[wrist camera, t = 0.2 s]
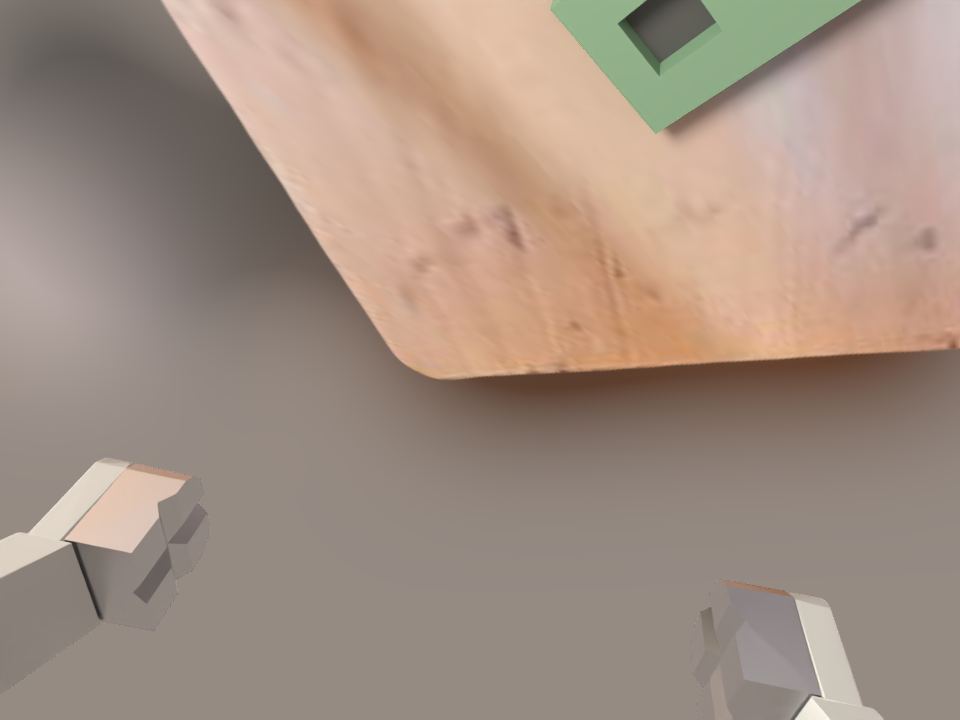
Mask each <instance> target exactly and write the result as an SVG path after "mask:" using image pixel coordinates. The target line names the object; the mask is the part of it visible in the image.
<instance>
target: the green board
mask: <svg viewBox="0 0 960 720" xmlns="http://www.w3.org/2000/svg"><path fill="white" fill-rule="evenodd" d="M860 1H861V0H553V2H552V6H551V11H552V12H553V13H554V14H555V15H556V17H557V18H558V19H559V20H560V21H561V23H562V24H563V25H564V26H565V27H566V28H567V30H568V31H569V32H570V33H571V34H572V36H573V37H574V38H575V39H576V40H577V41H578V43H579V44H580V45H581V46H582V47H583V49H584V50H585V51H586V52H587V53H588V54H589V56H590V57H591V58H592V59H593V60H594V62H595V63H596V64H597V65H598V66H599V67H600V69H601V70H602V71H603V72H604V73H605V75H606V76H607V77H608V78H609V79H610V80H611V82H612V83H613V84H614V85H615V86H616V88H617V89H618V90H619V91H620V92H621V94H622V95H623V96H624V97H625V98H626V99H627V101H628V102H629V103H630V104H631V105H632V107H633V108H634V109H635V110H636V111H637V112H638V114H639V115H640V116H641V117H642V118H643V120H644V121H645V122H646V123H647V124H648V125H649V127H650V128H651V129H652V130H653V131H654V133H655V134H657V133H658V132H660V131H661V130H663V129H664V128H666V127H667V126H669V125H670V124H672V123H673V122H675V121H677V120H678V119H680V118H681V117H683V116H684V115H686V114H687V113H689V112H690V111H692V110H693V109H695V108H697V107H698V106H700V105H701V104H703V103H704V102H706V101H707V100H709V99H710V98H712V97H713V96H715V95H717V94H718V93H720V92H721V91H723V90H724V89H726V88H727V87H729V86H730V85H732V84H733V83H735V82H737V81H738V80H740V79H741V78H743V77H744V76H746V75H747V74H749V73H750V72H752V71H753V70H755V69H756V68H758V67H760V66H761V65H763V64H764V63H766V62H767V61H769V60H770V59H772V58H773V57H775V56H776V55H778V54H780V53H781V52H783V51H784V50H786V49H787V48H789V47H790V46H792V45H793V44H795V43H796V42H798V41H800V40H801V39H803V38H804V37H806V36H807V35H809V34H810V33H812V32H813V31H815V30H816V29H818V28H820V27H821V26H823V25H824V24H826V23H827V22H829V21H830V20H832V19H833V18H835V17H836V16H838V15H840V14H841V13H843V12H844V11H846V10H847V9H849V8H850V7H852V6H853V5H855V4H856V3H858V2H860Z"/></svg>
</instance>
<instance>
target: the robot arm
mask: <svg viewBox="0 0 960 720" xmlns="http://www.w3.org/2000/svg"><path fill="white" fill-rule="evenodd" d="M203 494H204V491H203V487H202V482H201V479H200V478H197V477H194V476H190V475H186V474H181V473H177V472H172V471H168V470H163V469H159V468H155V467H150V466H146V465H141V464H137V463H131V462H126V461H122V460H117V459H112V458H108V457H106V458H104V459H102V460H100V461H97V462H96V463H94V464H93V465H92V467H91V468H90V469H89V470H88V471H87V472H86V473H85V474H84V475H83V476H82V477H81V478H80V479H79V480H78V481H77V482H76V483H75V484H74V486H73V487H72V488H71V489H70V490H69V491H68V492H67V493H66V494H65V495H64V496H63V497H62V498H61V499H60V500H59V501H58V502H57V504H56V505H55V506H54V507H53V508H52V509H51V510H50V511H49V512H48V513H47V514H46V515H45V516H44V517H43V518H42V519H41V520H40V522H39V523H38V524H37V525H36V526H35V527H34V528H33V529H32V530H31V531H30V532H29V533H21V532H18V533H15V534H14V535H11V536H9V537H7V538H4V539H2V540H0V695H1V694H2V693H3V692H5V691H6V690H8V689H9V688H11V687H12V686H14V685H15V684H16V683H18V682H19V681H21V680H22V679H24V678H25V677H26V676H28V675H29V674H31V673H32V672H34V671H35V670H36V669H38V668H39V667H41V666H42V665H43V664H45V663H46V662H48V661H49V660H51V659H52V658H53V657H55V656H56V655H58V654H59V653H61V652H62V651H64V650H65V649H67V648H68V647H69V646H70V645H72V644H74V643H75V642H77V641H78V640H79V639H81V638H82V637H84V636H85V635H87V634H88V633H89V632H91V631H92V630H94V629H95V628H96V627H98V626H99V625H100V624H101V623H100V621H102V622H107V623H113V624H118V625H124V626H129V627H134V628H140V629H145V630H151V631H155V629H156V627H157V626H158V625H159V623H160V621H161V620H162V618H163V617H164V615H165V614H166V612H167V610H168V609H169V607H170V606H171V604H172V602H173V601H174V599H175V598H176V596H177V595H178V593H177V585H176V580H177V579H179V578H181V577H183V576H184V575H186V574H188V573H189V572H191V571H193V569H194V568H195V566H196V564H197V563H198V561H199V559H200V558H201V556H202V554H203V551H204V548H205V545H206V542H207V539H208V534H209V518H208V513H207V512H206V511H205V510H204V509H203V507H202V506H200V504H199V503H198V501H199V500H200V499H201V497H202V496H203ZM709 595H710V602H711V607H709V608H707V609H705V610H703V611H701V612H700V614H699V616H698V619H697V621H696V624H695V626H694V631H693V637H692V642H691V660H692V668H693V675H694V676H695V677H696V679H697V680H698V681H699V683H700V684H701V686H702V687H703V688H704V690H703V692H702V694H701V695H700V697H699V699H698V701H697V703H696V705H697V712H698V720H884V719H883V718H882V717H881V716H880V715H879V713H878V712H877V711H876V710H875V709H873V708H869V707H865V706H863V704H862V701H861V698H860V695H859V692H858V689H857V686H856V683H855V680H854V677H853V675H852V671H851V668H850V665H849V662H848V659H847V656H846V653H845V650H844V647H843V644H842V642H841V639H840V636H839V633H838V630H837V627H836V624H835V621H834V618H833V615H832V612H831V609H830V606H829V605H828V603H827V602H826V601H825V600H824V599H822V598H817V597H811V596H806V595H801V594H796V593H791V592H786V591H784V590H778V589H772V588H767V587H762V586H756V585H751V584H745V583H740V582H735V581H729V580H724V579H719V580H718V581H717V582H716V583H715V584H714V586H713V587H712V589H711V592H710V593H709Z"/></svg>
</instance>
